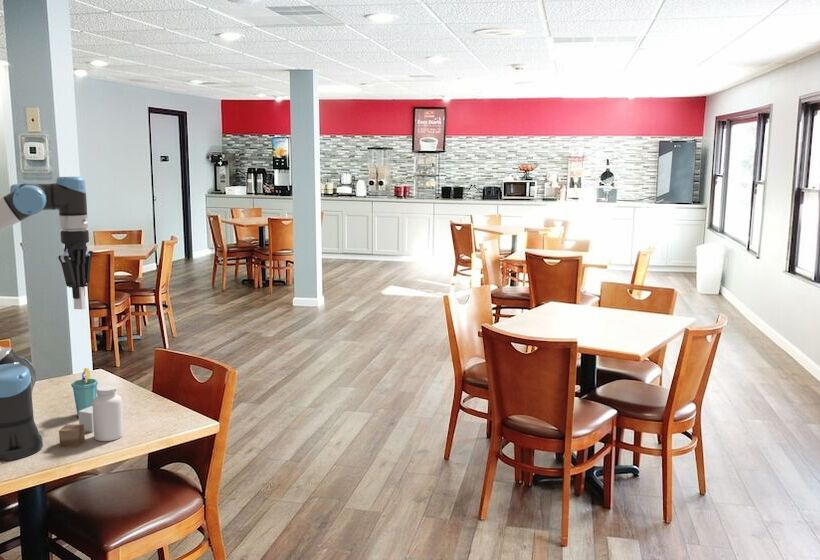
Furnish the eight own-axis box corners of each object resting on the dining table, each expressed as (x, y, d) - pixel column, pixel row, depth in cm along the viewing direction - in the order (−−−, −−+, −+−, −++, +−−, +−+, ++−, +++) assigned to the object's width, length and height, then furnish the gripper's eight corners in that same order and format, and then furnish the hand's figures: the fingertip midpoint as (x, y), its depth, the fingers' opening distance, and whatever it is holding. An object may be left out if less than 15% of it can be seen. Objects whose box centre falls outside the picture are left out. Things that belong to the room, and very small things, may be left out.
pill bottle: (117, 442, 211) (114, 392, 208) (89, 441, 211) (86, 391, 209) (128, 432, 219) (125, 383, 216) (101, 431, 219) (98, 383, 216)
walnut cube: (78, 447, 207) (77, 430, 206) (60, 447, 207) (58, 430, 206) (84, 440, 212) (83, 424, 211) (67, 441, 212) (65, 424, 211)
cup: (100, 420, 228) (97, 374, 226) (73, 424, 225) (69, 376, 223) (99, 406, 241) (96, 362, 238) (73, 409, 238) (70, 365, 235)
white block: (92, 432, 218) (91, 413, 217) (79, 430, 220) (78, 411, 219) (105, 427, 223) (103, 408, 222) (92, 424, 225) (91, 406, 224)
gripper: (71, 232, 207) (76, 313, 211) (99, 228, 220) (104, 305, 224) (47, 231, 209) (53, 312, 213) (77, 227, 221) (82, 304, 225)
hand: (79, 308), depth 218 cm, fingers closed
